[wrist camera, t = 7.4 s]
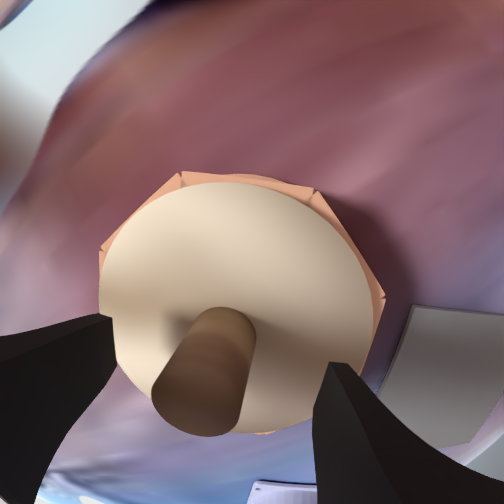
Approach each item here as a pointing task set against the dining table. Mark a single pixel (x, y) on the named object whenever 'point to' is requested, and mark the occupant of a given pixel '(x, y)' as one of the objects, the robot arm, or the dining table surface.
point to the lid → (233, 307)
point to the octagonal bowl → (294, 191)
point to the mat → (446, 373)
